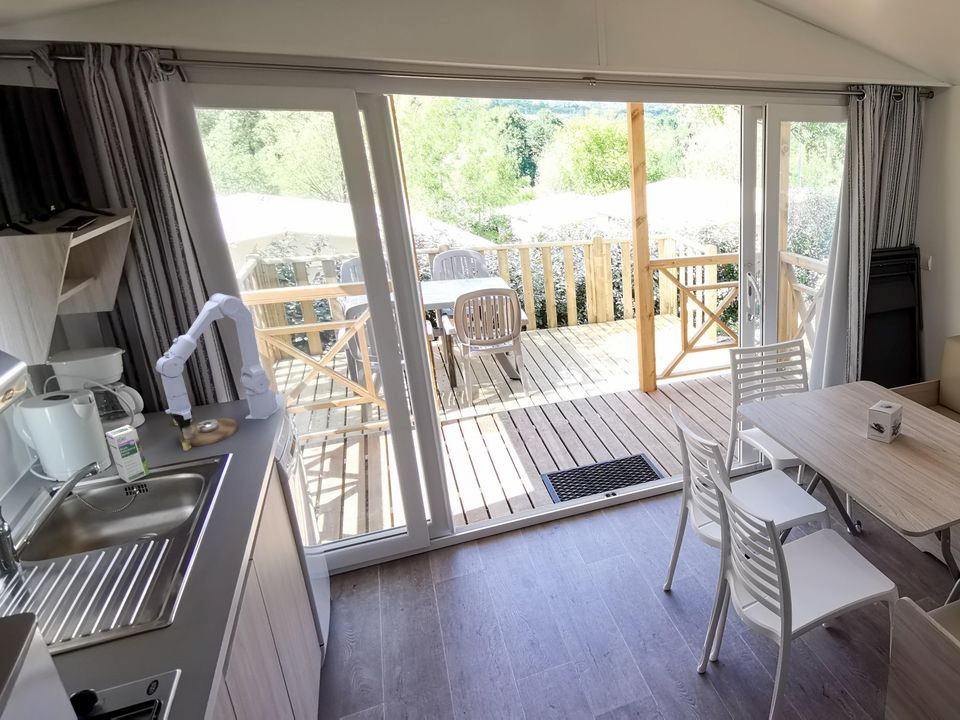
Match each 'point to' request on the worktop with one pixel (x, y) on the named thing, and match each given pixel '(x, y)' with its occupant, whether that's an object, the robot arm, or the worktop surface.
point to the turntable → (199, 439)
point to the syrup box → (127, 453)
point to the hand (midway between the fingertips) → (186, 433)
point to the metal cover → (207, 426)
